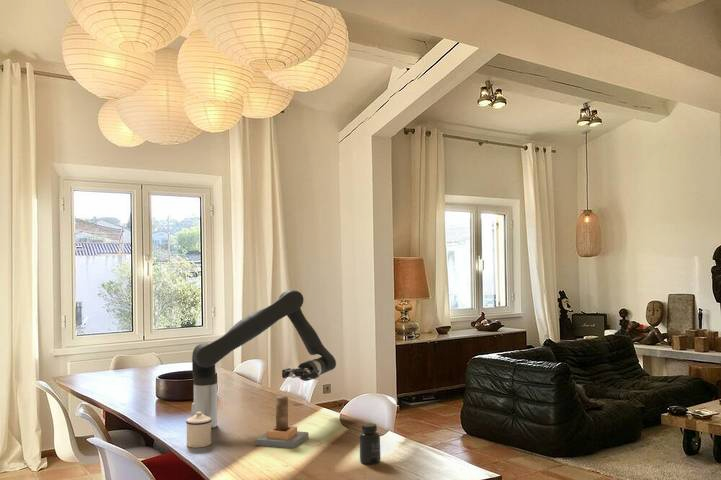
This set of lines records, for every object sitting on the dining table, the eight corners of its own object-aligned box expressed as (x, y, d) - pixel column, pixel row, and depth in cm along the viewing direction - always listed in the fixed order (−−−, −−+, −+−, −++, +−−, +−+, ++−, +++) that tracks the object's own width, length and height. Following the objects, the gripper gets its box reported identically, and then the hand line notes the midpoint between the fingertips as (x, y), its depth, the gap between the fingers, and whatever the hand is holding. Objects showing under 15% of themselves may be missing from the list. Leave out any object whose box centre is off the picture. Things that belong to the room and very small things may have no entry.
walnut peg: (274, 436, 226) (273, 398, 226) (279, 433, 230) (279, 395, 230) (285, 437, 224) (284, 398, 225) (290, 434, 229) (289, 396, 229)
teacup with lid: (216, 444, 224) (216, 411, 225) (194, 449, 218) (194, 416, 218) (198, 438, 233) (198, 406, 233) (177, 443, 226) (177, 411, 227)
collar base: (255, 445, 223) (254, 432, 223) (272, 434, 236) (271, 422, 236) (293, 448, 218) (293, 435, 218) (308, 437, 231) (308, 425, 232)
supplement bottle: (379, 458, 206) (379, 421, 206) (381, 464, 199) (380, 427, 199) (359, 458, 205) (358, 422, 206) (360, 465, 199) (359, 427, 199)
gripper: (293, 359, 256) (276, 365, 241) (325, 361, 252) (310, 367, 236) (293, 378, 256) (276, 384, 240) (325, 380, 251) (310, 387, 236)
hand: (293, 376), depth 238 cm, fingers open, 8 cm apart
